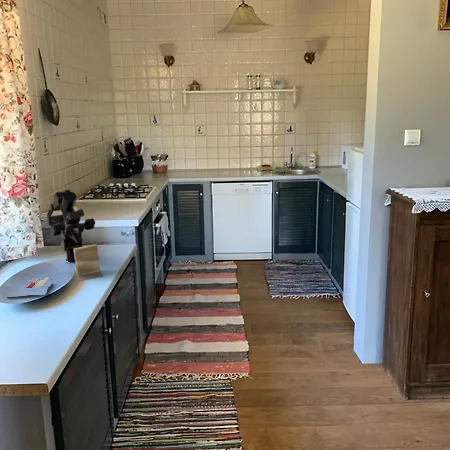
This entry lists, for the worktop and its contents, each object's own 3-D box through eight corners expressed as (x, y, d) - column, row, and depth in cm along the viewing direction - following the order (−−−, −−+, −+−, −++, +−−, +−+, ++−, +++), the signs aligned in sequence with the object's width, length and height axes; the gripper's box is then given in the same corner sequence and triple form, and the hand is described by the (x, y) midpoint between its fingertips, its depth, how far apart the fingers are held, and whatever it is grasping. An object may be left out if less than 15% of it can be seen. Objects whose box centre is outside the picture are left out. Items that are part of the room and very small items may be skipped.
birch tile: (76, 274, 206) (73, 248, 203) (98, 269, 211) (95, 244, 208) (78, 276, 204) (75, 249, 201) (100, 271, 209) (97, 245, 206)
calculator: (14, 279, 195) (51, 275, 196) (16, 289, 196) (52, 285, 197) (4, 290, 184) (43, 285, 185) (6, 300, 185) (45, 295, 186)
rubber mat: (73, 270, 213) (73, 269, 213) (97, 266, 217) (97, 265, 217) (79, 281, 199) (79, 281, 198) (104, 277, 203) (103, 276, 203)
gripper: (50, 207, 206) (60, 236, 200) (91, 201, 216) (102, 229, 210) (47, 221, 215) (57, 250, 209) (88, 214, 224) (98, 241, 218)
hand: (79, 242), depth 211 cm, fingers closed
